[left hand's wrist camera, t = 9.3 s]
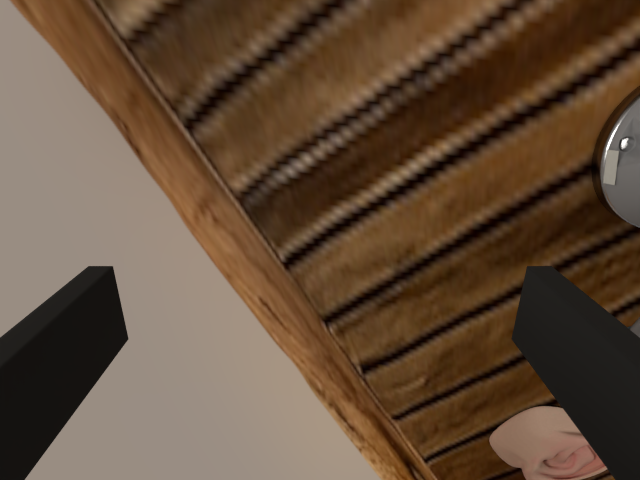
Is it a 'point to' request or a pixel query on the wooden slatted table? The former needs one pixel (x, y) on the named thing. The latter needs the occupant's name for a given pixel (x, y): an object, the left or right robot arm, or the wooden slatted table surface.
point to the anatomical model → (546, 446)
